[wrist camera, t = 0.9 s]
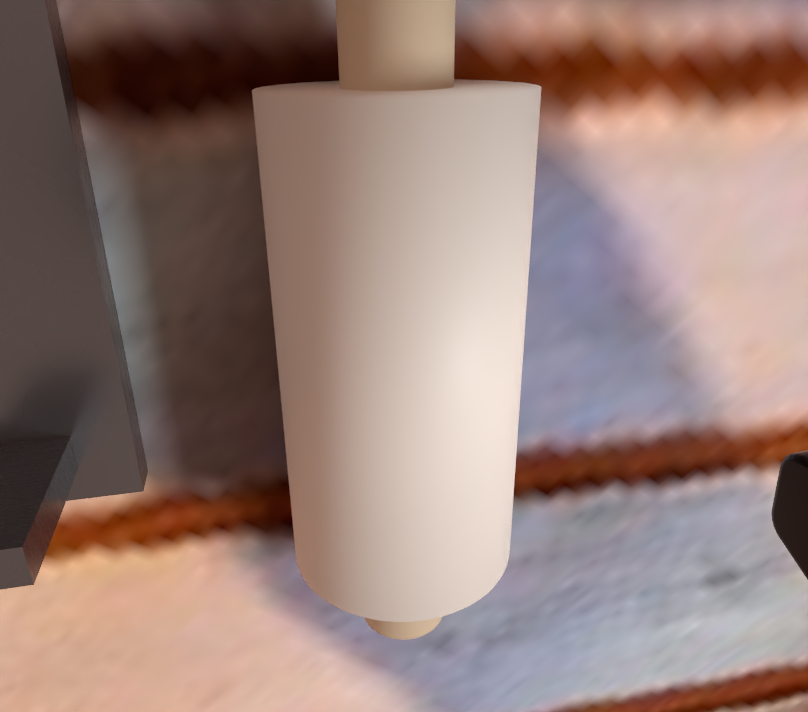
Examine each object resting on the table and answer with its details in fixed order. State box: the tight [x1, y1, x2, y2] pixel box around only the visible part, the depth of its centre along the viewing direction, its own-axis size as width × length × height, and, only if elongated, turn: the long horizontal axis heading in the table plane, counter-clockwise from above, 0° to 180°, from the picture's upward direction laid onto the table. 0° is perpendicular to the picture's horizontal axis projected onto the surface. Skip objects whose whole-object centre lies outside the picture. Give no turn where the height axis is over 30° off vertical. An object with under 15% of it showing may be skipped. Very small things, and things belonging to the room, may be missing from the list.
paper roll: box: [252, 0, 541, 639], centre depth 17 cm, size 17×6×6 cm, turn 2°
